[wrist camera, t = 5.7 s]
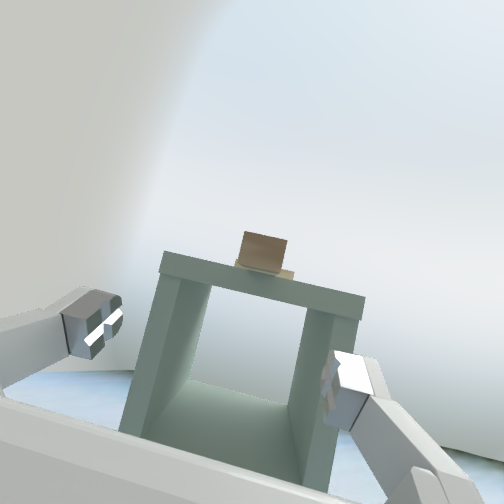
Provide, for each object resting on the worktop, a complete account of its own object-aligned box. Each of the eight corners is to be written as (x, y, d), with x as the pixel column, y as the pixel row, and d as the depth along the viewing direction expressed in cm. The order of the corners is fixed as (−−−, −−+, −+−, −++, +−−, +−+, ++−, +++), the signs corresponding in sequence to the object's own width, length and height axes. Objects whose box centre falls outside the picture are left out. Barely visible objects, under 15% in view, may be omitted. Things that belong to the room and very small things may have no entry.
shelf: (286, 483, 34) (324, 290, 36) (302, 643, 19) (365, 296, 21) (158, 445, 35) (204, 262, 38) (79, 566, 20) (164, 250, 23)
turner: (239, 271, 37) (242, 259, 37) (287, 282, 36) (290, 269, 36) (196, 253, 14) (204, 222, 14) (323, 282, 13) (329, 249, 14)
